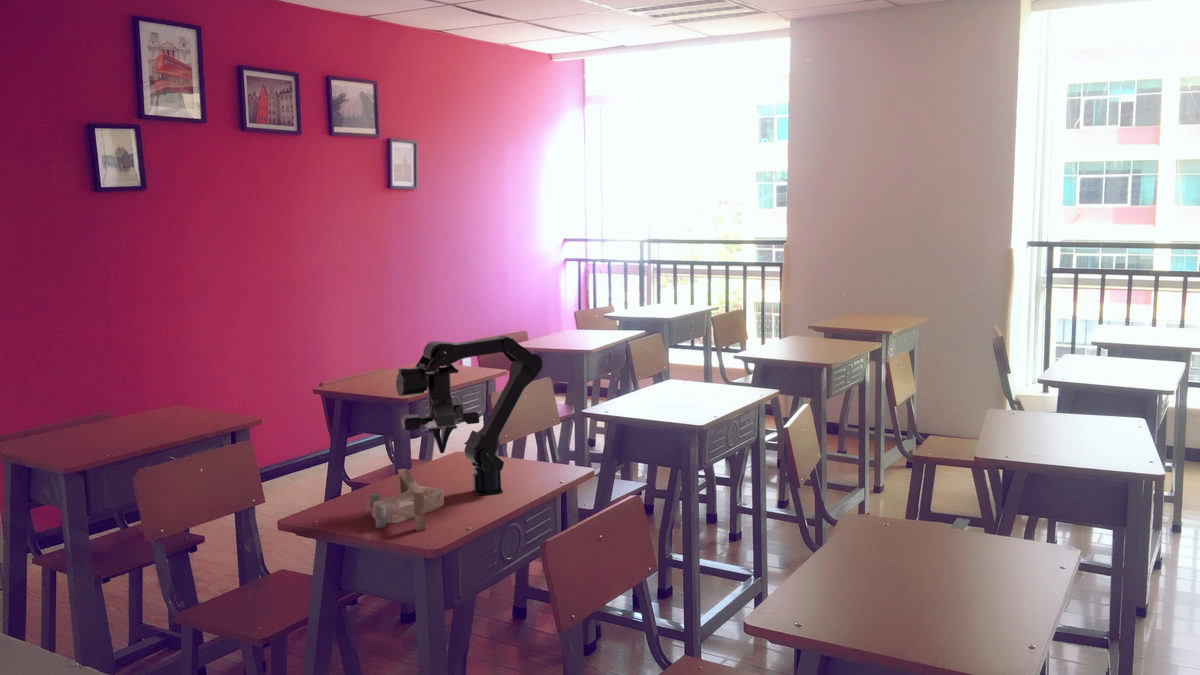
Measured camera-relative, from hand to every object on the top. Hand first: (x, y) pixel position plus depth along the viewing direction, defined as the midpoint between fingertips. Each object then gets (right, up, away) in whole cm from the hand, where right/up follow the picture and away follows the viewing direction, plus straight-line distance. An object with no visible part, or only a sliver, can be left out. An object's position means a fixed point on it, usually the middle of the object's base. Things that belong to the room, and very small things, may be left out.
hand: (441, 452), depth 235 cm
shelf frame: (-9, -14, -14) cm, 22 cm away
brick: (-6, -14, -9) cm, 18 cm away
